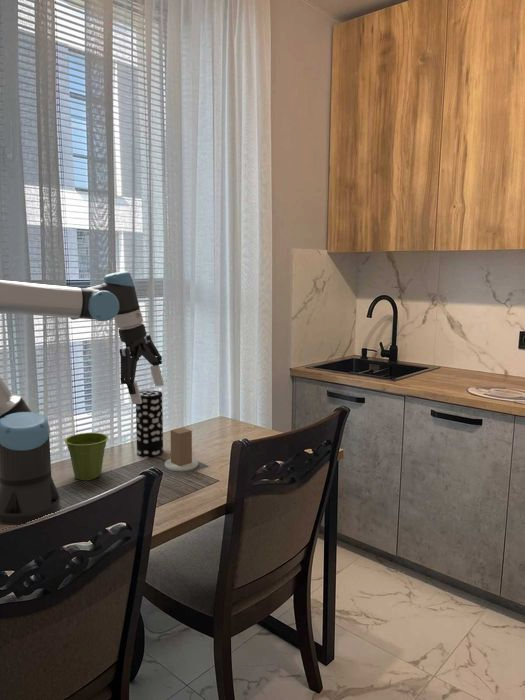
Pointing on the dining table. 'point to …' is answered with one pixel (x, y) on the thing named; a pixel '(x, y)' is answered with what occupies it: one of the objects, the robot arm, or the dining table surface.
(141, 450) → the white-spotted black cylinder
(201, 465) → the mat
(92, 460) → the plant pot
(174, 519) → the dining table surface
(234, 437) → the dining table surface
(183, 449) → the wooden post on disc
